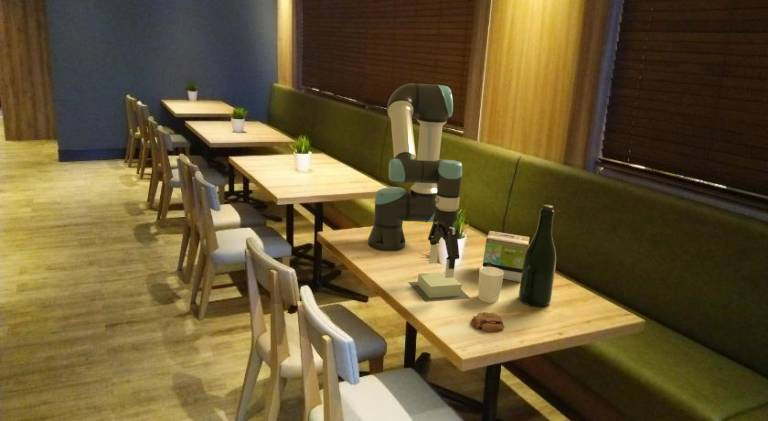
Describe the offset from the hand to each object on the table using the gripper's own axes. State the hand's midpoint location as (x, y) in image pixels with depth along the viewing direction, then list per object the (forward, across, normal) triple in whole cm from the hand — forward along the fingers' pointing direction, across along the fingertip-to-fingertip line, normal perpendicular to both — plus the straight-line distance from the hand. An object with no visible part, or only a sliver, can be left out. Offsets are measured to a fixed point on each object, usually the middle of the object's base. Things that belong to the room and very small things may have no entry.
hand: (440, 270), depth 203 cm
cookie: (+9, +26, +5) cm, 27 cm away
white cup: (+8, +8, +14) cm, 18 cm away
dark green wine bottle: (+8, +12, +29) cm, 33 cm away
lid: (+7, 0, 0) cm, 7 cm away
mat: (+8, 0, 0) cm, 8 cm away
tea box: (+8, -10, +30) cm, 33 cm away
